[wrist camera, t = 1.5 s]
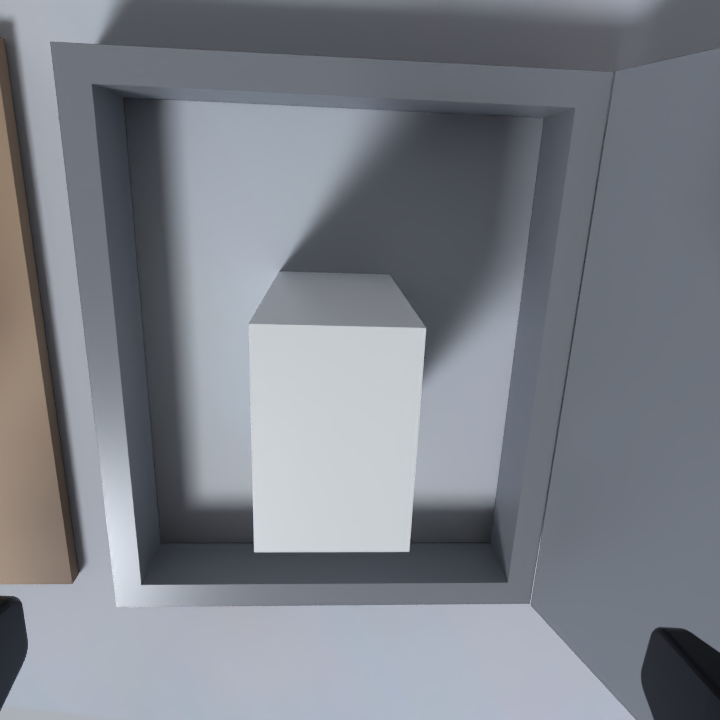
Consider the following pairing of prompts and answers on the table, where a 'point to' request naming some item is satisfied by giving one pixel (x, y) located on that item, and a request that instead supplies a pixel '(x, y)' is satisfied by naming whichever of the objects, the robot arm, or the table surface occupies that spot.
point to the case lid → (643, 388)
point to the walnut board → (26, 393)
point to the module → (334, 413)
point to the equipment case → (125, 331)
